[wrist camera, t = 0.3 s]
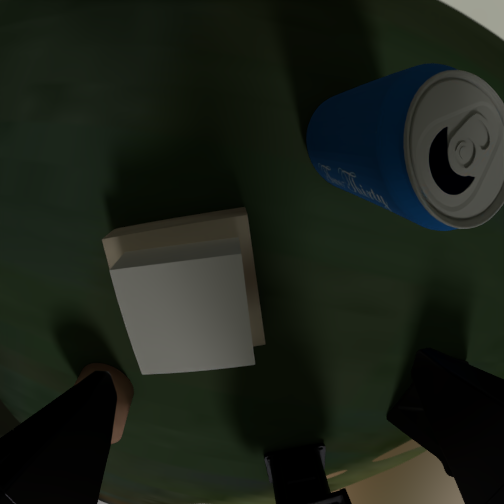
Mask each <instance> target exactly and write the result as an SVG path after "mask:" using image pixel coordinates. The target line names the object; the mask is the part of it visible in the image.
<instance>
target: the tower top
mask: <svg viewBox="0 0 504 504" xmlns="http://www.w3.org/2000/svg"><path fill="white" fill-rule="evenodd" d="M110 274H111V278H112V282H113V285H114V289H115V293H116V296H117V300H118V303H119V306H120V310H121V313H122V316H123V320H124V323H125V326H126V329H127V332H128V335H129V338H130V341H131V344H132V347H133V350H134V353H135V356H136V359H137V361H138V364H139V367H140V370H141V372H142V375H143V374H163V373H179V372H192V371H204V370H214V369H224V368H233V367H241V366H249V365H255V358H254V350H253V343H252V335H251V327H250V319H249V311H248V303H247V295H246V287H245V279H244V271H243V263H242V255H241V248H240V242H239V237H235V238H227V239H219V240H212V241H204V242H196V243H188V244H180V245H173V246H165V247H158V248H150V249H143V250H136V251H128V252H124V254H123V255H122V256H121V257H120V258H119V259H118V261H117V262H116V263H115V264H114V265H113V267H112V268H111V269H110Z"/></svg>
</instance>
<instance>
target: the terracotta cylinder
mask: <svg viewBox="0 0 504 504" xmlns="http://www.w3.org/2000/svg"><path fill="white" fill-rule="evenodd" d="M97 370H99V371H108V372H109V373H110V374H111V377H112V380H113V383H114V386H115V389H116V392H117V405H116V412H115V419H114V426H113V434H112V440H111V444H112V443H115V442H117V441H119V440H120V438H121V436H122V433H123V429H124V426H125V422H126V419H127V415H128V412H129V408H130V405H131V402H132V398H133V395H134V389H133V386H132V383H131V382H130V380H129V379H128V378H127V376H126V375H124V374H123V373H122V372H121V371H119V370H118V369H116V368H114V367H112V366H110V365H107V364H103V363H92V364H89V365H87V366H85V367H84V368H83V369H82V371H81V373H80V375H79V377H78V379H77V381H76V382H75V384H74V385H76V384H77V383H79V382H80V381H81V380H83V379H84V378H86V377H87V376H88V375H90V374H91V373H93V372H94V371H97Z"/></svg>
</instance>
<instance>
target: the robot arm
mask: <svg viewBox="0 0 504 504" xmlns="http://www.w3.org/2000/svg"><path fill="white" fill-rule="evenodd" d="M411 377H412V380H413V383H414V385H415V388H416V391H417V393H418V396H419V399H420V402H421V404H422V407H423V410H424V413H425V415H426V417H427V420H428V422H429V424H430V426H431V428H432V430H433V432H434V434H435V436H436V439H437V441H438V443H439V445H440V447H441V449H442V452H443V454H444V456H445V458H446V460H447V463H448V465H449V467H450V469H451V472H452V474H453V476H454V478H455V481H456V483H457V485H458V488H459V490H460V493H461V495H462V498H463V500H464V502H465V504H504V379H501V378H499V377H497V376H494V375H492V374H490V373H487V372H485V371H483V370H480V369H478V368H476V367H473V366H471V365H469V364H467V363H464V362H462V361H460V360H457V359H455V358H453V357H450V356H448V355H446V354H444V353H441V352H439V351H437V350H434V349H432V348H425V349H420V350H419V351H418V352H417V354H416V357H415V360H414V364H413V367H412V370H411ZM116 405H117V392H116V389H115V386H114V383H113V380H112V377H111V374H110V373H109V372H108V371H99V370H97V371H94V372H93V373H91V374H90V375H88V376H87V377H86V378H84V379H83V380H81V381H80V382H79V383H77V384H76V385H74V386H73V387H72V388H70V389H69V390H67V391H66V392H65V393H63V394H62V395H60V396H59V397H58V398H56V399H55V400H53V401H52V402H51V403H49V404H48V405H46V406H45V407H44V408H42V409H41V410H39V411H38V412H36V413H35V414H34V415H32V416H31V417H29V418H28V419H27V420H25V421H24V422H22V423H21V424H20V425H18V426H17V427H16V428H14V431H13V430H11V431H10V432H8V433H7V434H5V435H4V436H3V437H1V438H0V504H97V502H98V498H99V493H100V488H101V484H102V479H103V475H104V471H105V467H106V462H107V458H108V454H109V450H110V446H111V440H112V434H113V426H114V419H115V412H116ZM264 458H265V463H266V467H267V472H268V476H269V481H270V483H273V488H274V494H275V501H276V504H352V503H351V501H350V499H349V496H348V494H347V492H346V489H345V488H344V489H340V491H336V492H332V493H331V492H330V488H329V485H328V481H327V478H326V474H325V471H324V468H325V445H324V444H323V443H320V444H316V445H311V446H306V447H301V448H296V449H290V450H284V451H278V452H272V453H267V454H265V455H264Z"/></svg>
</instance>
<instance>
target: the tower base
mask: <svg viewBox="0 0 504 504" xmlns="http://www.w3.org/2000/svg"><path fill="white" fill-rule="evenodd" d="M235 237H239V242H240V248H241V255H242V263H243V271H244V279H245V287H246V295H247V303H248V311H249V319H250V327H251V335H252V343H253V346H259V345H266V344H265V337H264V330H263V323H262V315H261V308H260V301H259V294H258V287H257V280H256V272H255V265H254V258H253V251H252V244H251V236H250V229H249V222H248V215H247V212H246V209H245V207H241V208H234V209H228V210H221V211H215V212H208V213H202V214H196V215H190V216H184V217H178V218H172V219H166V220H160V221H154V222H149V223H143V224H138V225H132V226H127V227H122V228H116V229H114V230H112V231H111V232H110V233H109V234H108V235H106V236H105V237H104V238H103V239H102V242H103V245H104V249H105V253H106V257H107V260H108V264H109V268H110V269H111V268H112V267H113V265H114V264H115V263H116V262H117V261H118V259H119V258H120V257H121V256H122V255H123V254H124V252H128V251H136V250H143V249H150V248H158V247H165V246H173V245H180V244H188V243H196V242H204V241H212V240H219V239H227V238H235Z"/></svg>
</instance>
